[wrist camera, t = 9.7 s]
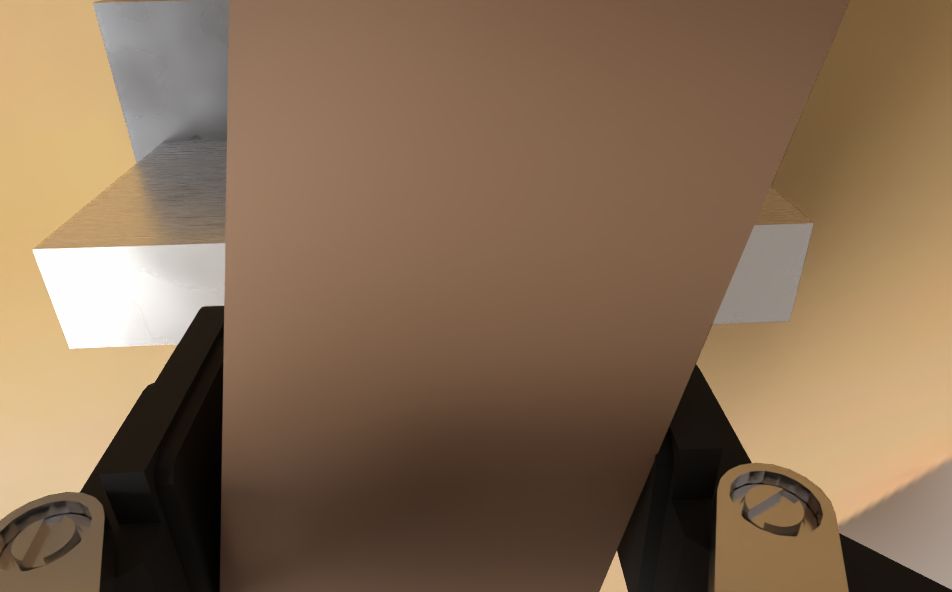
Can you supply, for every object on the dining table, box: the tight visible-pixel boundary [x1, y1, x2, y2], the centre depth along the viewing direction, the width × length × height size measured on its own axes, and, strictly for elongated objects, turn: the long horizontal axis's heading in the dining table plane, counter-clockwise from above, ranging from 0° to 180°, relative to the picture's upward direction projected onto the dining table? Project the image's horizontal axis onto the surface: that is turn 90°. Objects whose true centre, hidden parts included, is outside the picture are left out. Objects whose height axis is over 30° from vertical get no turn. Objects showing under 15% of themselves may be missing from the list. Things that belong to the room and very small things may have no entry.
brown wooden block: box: [220, 0, 850, 592], centre depth 11 cm, size 22×5×6 cm, turn 169°
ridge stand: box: [33, 0, 814, 348], centre depth 18 cm, size 10×18×8 cm, turn 91°
